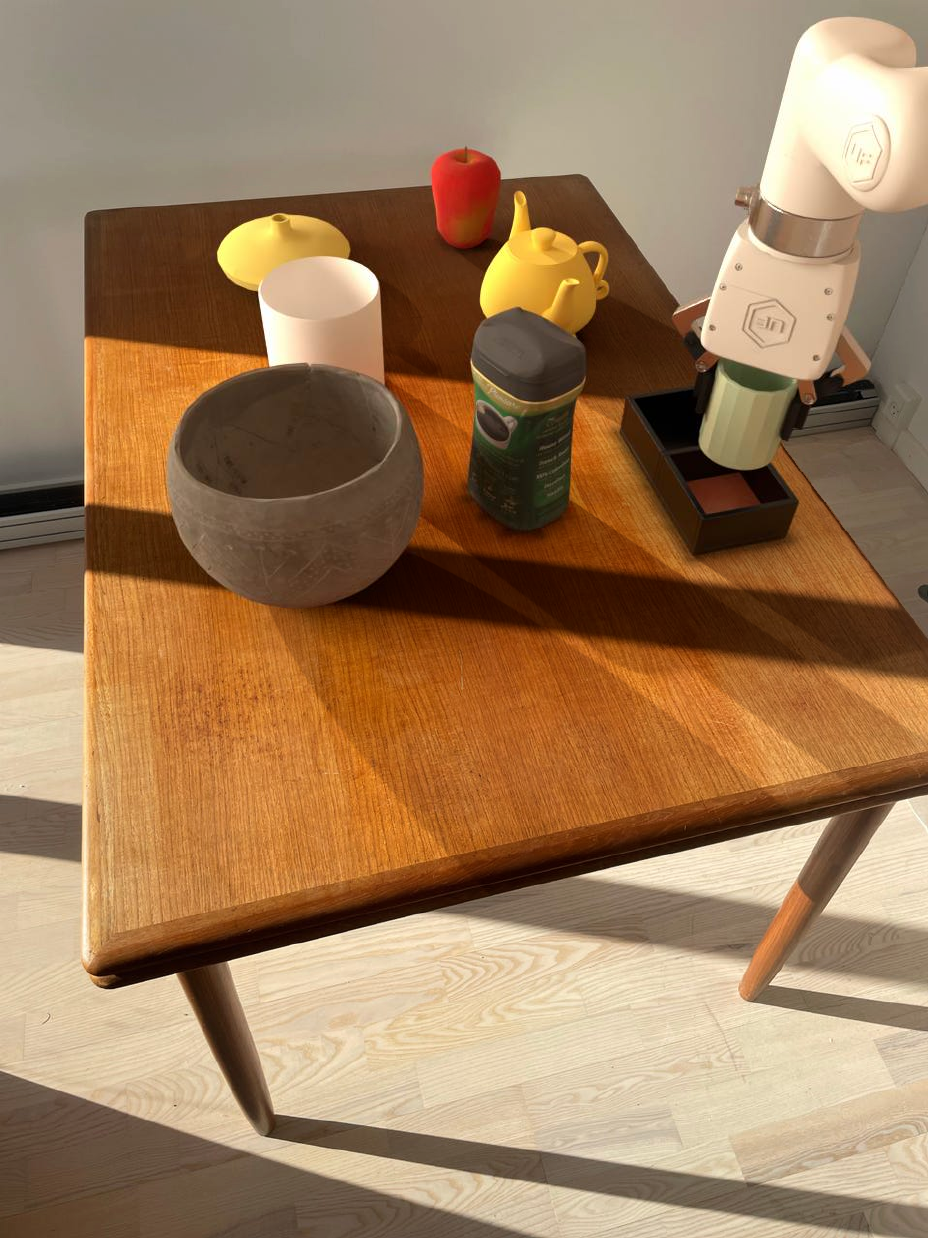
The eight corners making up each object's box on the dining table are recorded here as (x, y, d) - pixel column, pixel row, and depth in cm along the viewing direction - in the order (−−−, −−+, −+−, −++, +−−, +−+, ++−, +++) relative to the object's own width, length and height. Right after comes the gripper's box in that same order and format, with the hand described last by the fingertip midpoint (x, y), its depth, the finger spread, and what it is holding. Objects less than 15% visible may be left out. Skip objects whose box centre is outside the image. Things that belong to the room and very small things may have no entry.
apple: (511, 242, 124) (516, 148, 115) (461, 263, 120) (462, 168, 111) (467, 216, 128) (469, 123, 119) (417, 235, 124) (416, 141, 115)
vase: (351, 308, 113) (347, 251, 108) (215, 310, 112) (203, 254, 107) (352, 239, 123) (348, 184, 118) (227, 241, 122) (217, 186, 117)
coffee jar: (582, 509, 92) (608, 339, 77) (519, 546, 88) (534, 375, 74) (515, 456, 96) (528, 287, 82) (453, 489, 93) (455, 319, 79)
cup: (299, 348, 108) (286, 247, 98) (399, 367, 106) (395, 266, 97) (256, 411, 100) (238, 308, 91) (362, 433, 98) (354, 329, 89)
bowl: (182, 500, 91) (146, 366, 80) (397, 466, 95) (392, 333, 84) (203, 671, 78) (163, 540, 67) (451, 623, 82) (454, 491, 71)
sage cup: (785, 435, 87) (811, 359, 80) (763, 479, 83) (789, 403, 77) (712, 412, 89) (732, 336, 82) (688, 454, 85) (707, 378, 78)
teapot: (635, 367, 107) (652, 271, 98) (506, 386, 104) (512, 289, 95) (575, 273, 119) (586, 180, 110) (459, 287, 116) (460, 194, 108)
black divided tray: (785, 538, 90) (799, 501, 86) (692, 556, 88) (703, 519, 84) (703, 418, 101) (712, 381, 97) (619, 432, 99) (625, 395, 96)
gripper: (673, 211, 70) (635, 411, 84) (918, 275, 65) (835, 476, 79) (706, 170, 74) (664, 365, 88) (938, 226, 69) (856, 424, 83)
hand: (745, 416), depth 83 cm, fingers closed on sage cup, 6 cm apart
